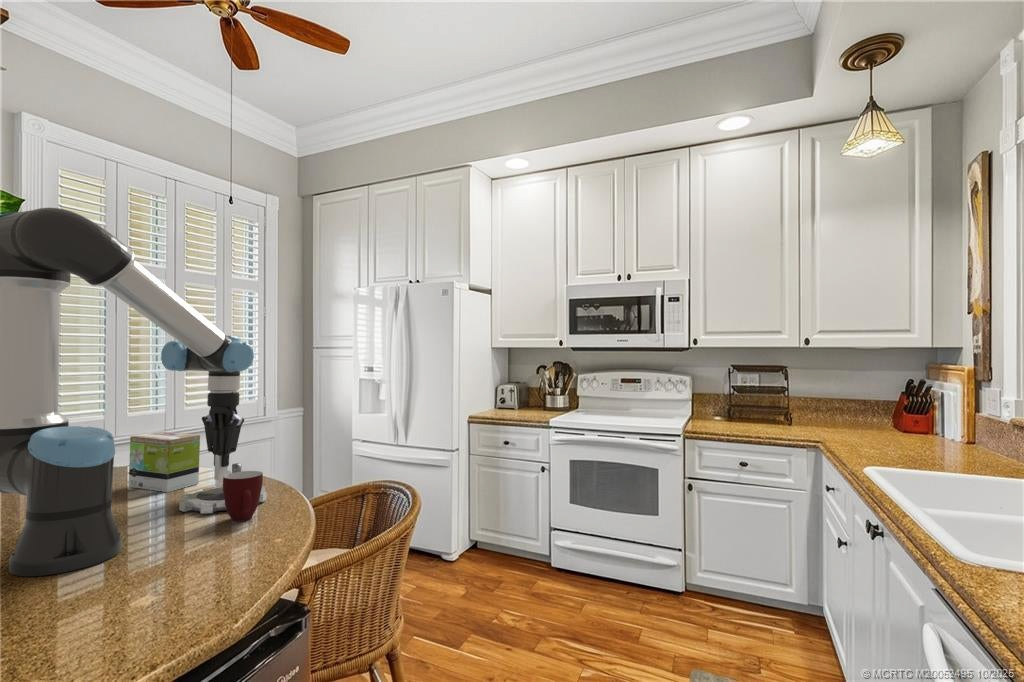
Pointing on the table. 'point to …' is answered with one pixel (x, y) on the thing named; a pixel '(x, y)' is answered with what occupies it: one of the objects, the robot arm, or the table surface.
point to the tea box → (164, 461)
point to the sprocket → (210, 498)
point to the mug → (242, 493)
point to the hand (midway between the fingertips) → (220, 478)
